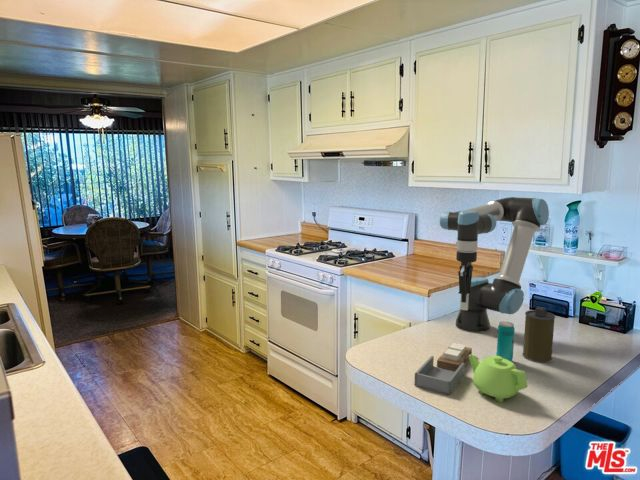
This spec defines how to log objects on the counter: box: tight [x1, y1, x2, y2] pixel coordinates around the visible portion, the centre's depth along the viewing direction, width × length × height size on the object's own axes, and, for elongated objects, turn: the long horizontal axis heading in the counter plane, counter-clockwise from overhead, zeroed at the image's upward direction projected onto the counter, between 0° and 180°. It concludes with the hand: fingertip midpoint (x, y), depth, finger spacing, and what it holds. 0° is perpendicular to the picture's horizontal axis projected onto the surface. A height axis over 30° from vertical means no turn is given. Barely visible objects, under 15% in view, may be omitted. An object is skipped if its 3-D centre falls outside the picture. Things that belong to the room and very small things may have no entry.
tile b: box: [443, 348, 461, 361], centre depth 167 cm, size 5×5×2 cm
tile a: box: [448, 342, 467, 355], centre depth 172 cm, size 5×5×2 cm
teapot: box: [468, 354, 529, 403], centre depth 145 cm, size 20×13×13 cm
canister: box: [521, 305, 556, 363], centre depth 172 cm, size 11×10×20 cm
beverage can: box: [496, 321, 515, 362], centre depth 168 cm, size 6×6×15 cm
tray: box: [414, 355, 465, 396], centre depth 155 cm, size 17×12×4 cm
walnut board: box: [436, 343, 473, 371], centre depth 170 cm, size 18×8×3 cm, turn 147°
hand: (464, 309), depth 176 cm, fingers closed
